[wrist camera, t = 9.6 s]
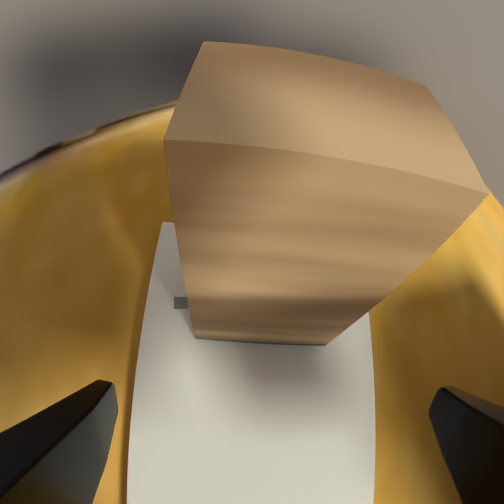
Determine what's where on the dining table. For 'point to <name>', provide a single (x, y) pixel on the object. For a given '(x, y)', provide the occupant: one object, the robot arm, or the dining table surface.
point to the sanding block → (306, 190)
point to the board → (246, 410)
